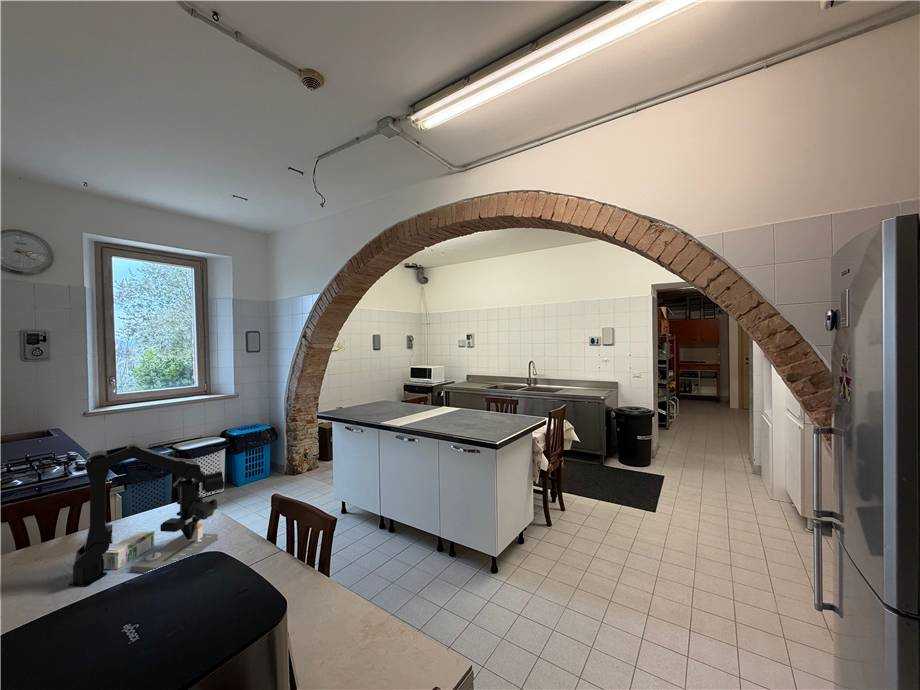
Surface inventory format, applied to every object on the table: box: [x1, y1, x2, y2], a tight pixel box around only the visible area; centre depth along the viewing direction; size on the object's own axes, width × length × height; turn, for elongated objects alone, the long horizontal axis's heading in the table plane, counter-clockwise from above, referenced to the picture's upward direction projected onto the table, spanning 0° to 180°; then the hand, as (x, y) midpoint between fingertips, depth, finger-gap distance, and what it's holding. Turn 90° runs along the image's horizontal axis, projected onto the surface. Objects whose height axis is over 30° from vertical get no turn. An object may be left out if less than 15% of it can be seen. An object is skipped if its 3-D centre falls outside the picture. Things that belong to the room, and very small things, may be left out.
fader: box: [190, 522, 204, 540], centre depth 139 cm, size 3×3×5 cm
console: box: [130, 533, 219, 574], centre depth 133 cm, size 22×13×3 cm, turn 175°
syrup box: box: [103, 530, 155, 570], centre depth 131 cm, size 6×6×14 cm
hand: (189, 539), depth 136 cm, fingers closed
